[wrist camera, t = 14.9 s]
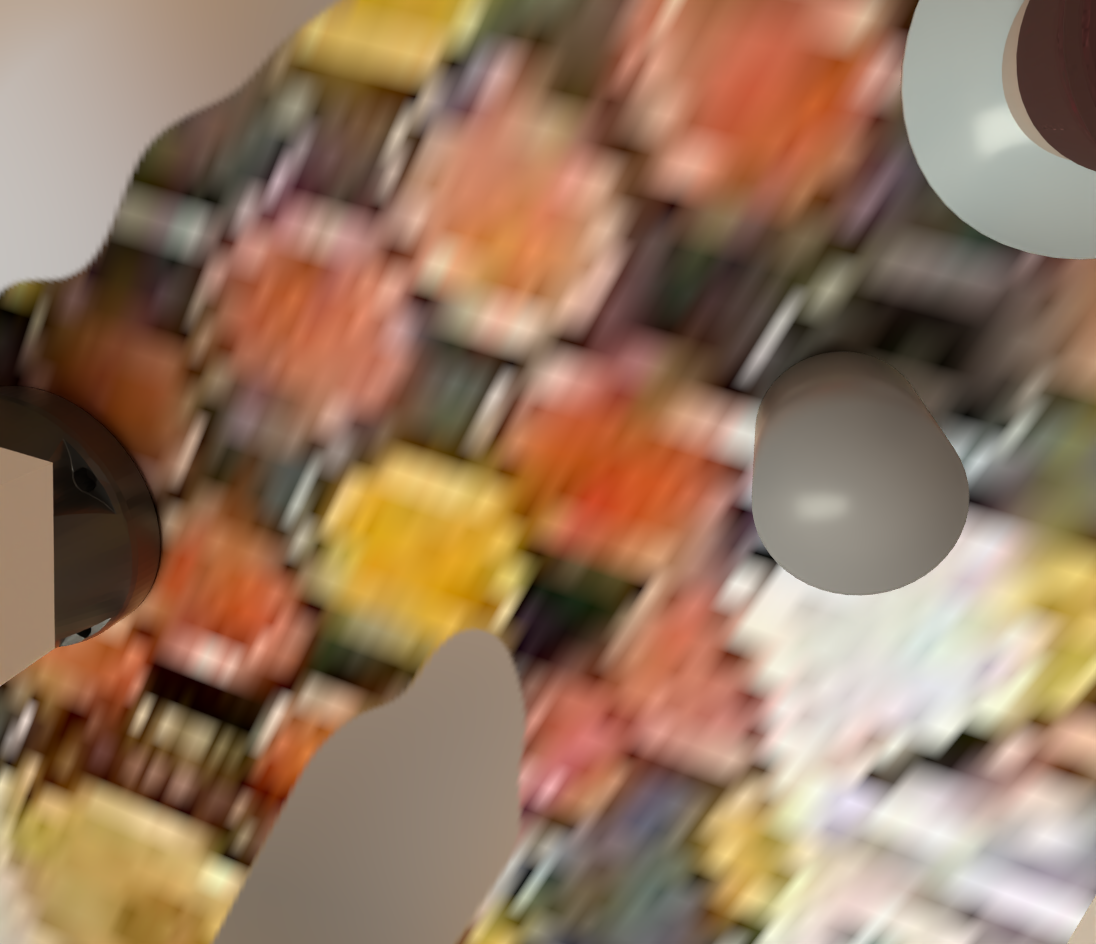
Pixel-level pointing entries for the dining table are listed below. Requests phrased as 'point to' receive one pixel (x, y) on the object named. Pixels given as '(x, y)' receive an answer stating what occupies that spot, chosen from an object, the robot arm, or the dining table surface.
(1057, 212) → the pale grey round disc
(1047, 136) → the coffee cup
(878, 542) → the grey rounded capsule
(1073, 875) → the dining table surface
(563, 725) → the dining table surface
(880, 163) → the dining table surface
